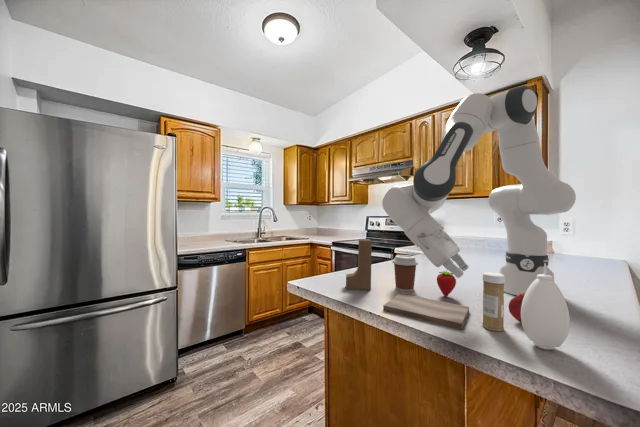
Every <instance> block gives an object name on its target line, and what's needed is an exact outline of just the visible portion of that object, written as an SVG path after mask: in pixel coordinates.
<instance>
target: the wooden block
mask: <svg viewBox="0 0 640 427" xmlns="http://www.w3.org/2000/svg"><path fill="white" fill-rule="evenodd" d="M357 255H358V256H357V258H358V259H357V260H358V261H357V268H356V270H355V271H354V272H353V273H347V274H346V275H345V289H347V290H356V289H358V290H360V291H361V290H362V291H371V290H372V240H371V239H369V238H366V239H364V238H363V239H362V238H359V239H358V254H357ZM358 290H357V291H358Z"/></svg>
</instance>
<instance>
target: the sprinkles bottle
mask: <svg viewBox="0 0 640 427" xmlns="http://www.w3.org/2000/svg"><path fill="white" fill-rule="evenodd" d="M482 281H483V286H482V287H483V290H482V291H483V292H482V324H481V325H482V327H483V328H485V329H487V330H489V331H493V332H503V331H504V330H505V327H504V322H505V321H504V319H505V318H504V317H505V299H504V297H505V295H504V294H505V292H504V283H505V276H504V275H503V274H500V272H491V271H488V272H487V271H486V272H483V273H482Z"/></svg>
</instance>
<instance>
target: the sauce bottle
mask: <svg viewBox="0 0 640 427" xmlns="http://www.w3.org/2000/svg"><path fill="white" fill-rule="evenodd" d="M566 301H567V300H566V299H565V296H564V294H563V292H562V291H561V289H560V287H559V286H558V284H556V282H555V280H554V281H553V277H552V276H550V275H547V272H546V263H545V264H544V273H543V274H538V275H537V279H536V280H534V281H533V282H532V284H531V285H530V286H529V288H528V289H527V291H526V293H525V295H524V298H523V301H522V306H521V321H522V323H521V326H522V327H523V328H522V329H523V331H524V333H525V335H526V337H527V338H528V339H529V340H530V341H531V342H532V343H533V345H535V346H537V347H538V348H540V349H542V350H547V351H548V350H554V349H555V348H559V347H561V346H562V345H563V344H564V342H566V340H567V338H568V336H569V333H570V332H569V331H570V328H571V326H570V325H571V323H570V322H571V320H570V312H569V308H568V304H567V302H566Z"/></svg>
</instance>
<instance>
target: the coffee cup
mask: <svg viewBox="0 0 640 427" xmlns="http://www.w3.org/2000/svg"><path fill="white" fill-rule="evenodd" d="M394 256H395V257H394V259H392V261H391V263H392V264H393V265H394V269H393V270H394V282H395V283H394V284H395V289H396V290H398V291H399V292H413V291H414V289H415V280H416V270H417V266H418V265H419V262H418V260H417V259H416V257H415V256H413V255H407V254H397V255H394Z"/></svg>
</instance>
